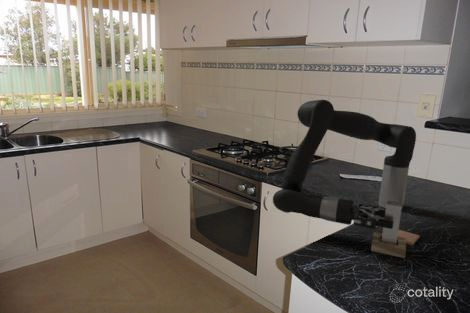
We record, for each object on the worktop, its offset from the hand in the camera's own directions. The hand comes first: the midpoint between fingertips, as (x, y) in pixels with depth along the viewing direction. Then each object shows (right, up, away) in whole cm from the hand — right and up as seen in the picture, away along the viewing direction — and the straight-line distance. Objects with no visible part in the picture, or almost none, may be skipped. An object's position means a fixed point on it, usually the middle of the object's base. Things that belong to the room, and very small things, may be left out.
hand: (393, 220), depth 104 cm
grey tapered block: (-1, -9, +2) cm, 9 cm away
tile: (+7, -7, +10) cm, 14 cm away
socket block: (-1, -9, +2) cm, 9 cm away
